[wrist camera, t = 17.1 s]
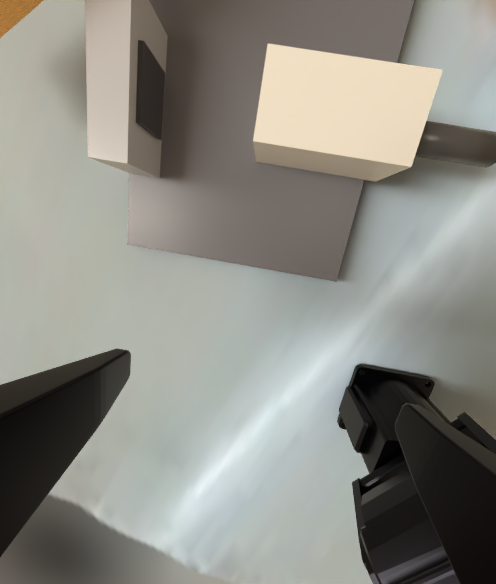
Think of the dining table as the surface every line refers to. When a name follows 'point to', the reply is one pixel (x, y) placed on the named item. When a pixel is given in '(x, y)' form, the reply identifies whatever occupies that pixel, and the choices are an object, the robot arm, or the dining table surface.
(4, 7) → the copper metal plate
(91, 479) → the dining table surface
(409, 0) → the grey piece
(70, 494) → the dining table surface
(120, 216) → the dining table surface
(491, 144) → the plug
